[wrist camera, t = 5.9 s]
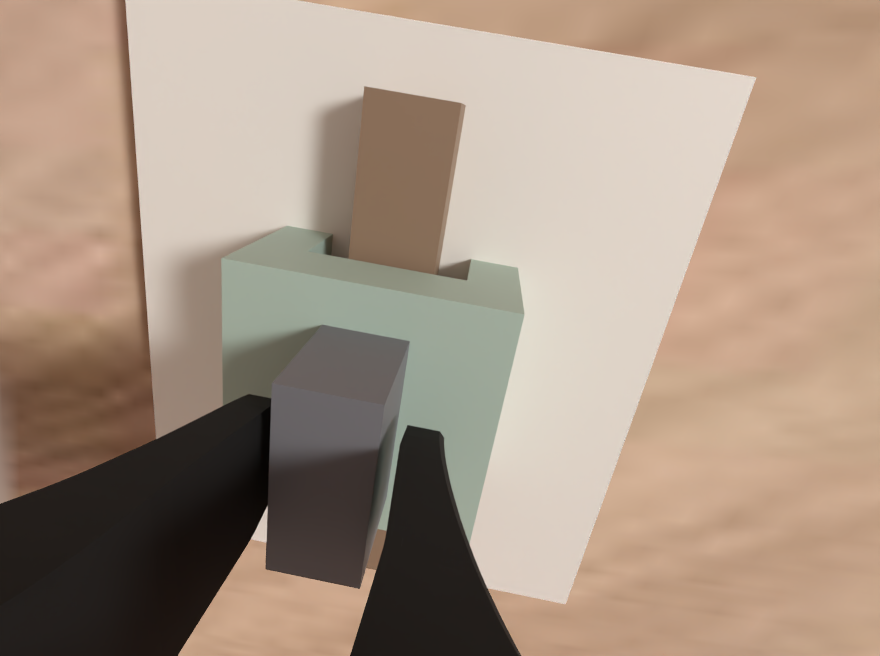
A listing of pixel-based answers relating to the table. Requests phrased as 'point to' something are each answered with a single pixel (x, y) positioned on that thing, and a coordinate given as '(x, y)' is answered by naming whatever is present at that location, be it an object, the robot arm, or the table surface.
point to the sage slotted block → (361, 385)
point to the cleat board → (518, 205)
